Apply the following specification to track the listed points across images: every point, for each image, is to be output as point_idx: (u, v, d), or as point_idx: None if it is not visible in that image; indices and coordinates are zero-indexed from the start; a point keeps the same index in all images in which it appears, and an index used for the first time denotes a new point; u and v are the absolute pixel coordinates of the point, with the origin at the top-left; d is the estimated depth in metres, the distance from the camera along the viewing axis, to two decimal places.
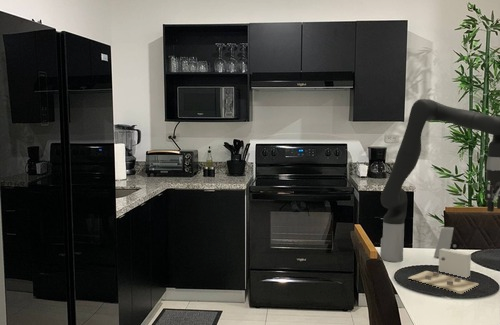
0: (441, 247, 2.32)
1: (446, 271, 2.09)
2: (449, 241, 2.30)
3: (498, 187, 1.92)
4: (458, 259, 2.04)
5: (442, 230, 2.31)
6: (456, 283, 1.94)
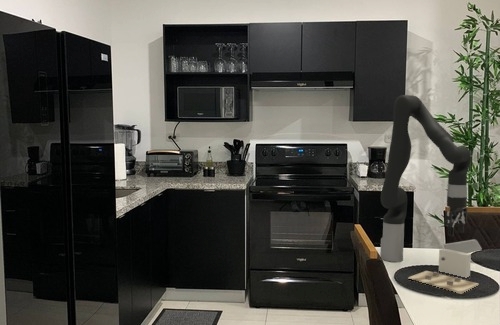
0: (456, 247, 2.29)
1: (446, 271, 2.09)
2: (466, 252, 2.27)
3: (457, 213, 2.03)
4: (458, 259, 2.05)
5: (473, 241, 2.25)
6: (456, 283, 1.94)
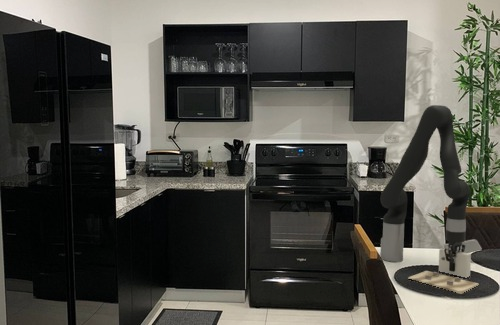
0: None
1: (446, 271, 2.09)
2: (466, 252, 2.27)
3: (456, 248, 2.05)
4: (458, 259, 2.05)
5: (473, 241, 2.25)
6: (456, 283, 1.94)
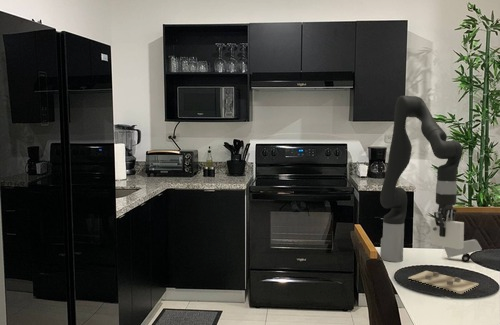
0: None
1: (438, 242, 1.97)
2: (466, 252, 2.27)
3: (446, 211, 1.93)
4: (451, 228, 1.93)
5: (473, 241, 2.25)
6: (456, 283, 1.94)
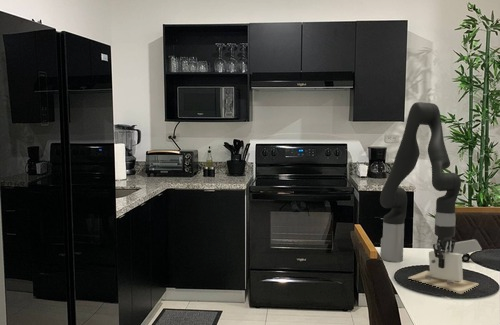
0: (456, 247, 2.29)
1: (438, 274, 1.98)
2: (466, 252, 2.27)
3: (445, 243, 1.94)
4: (449, 260, 1.94)
5: (473, 241, 2.25)
6: (456, 283, 1.94)
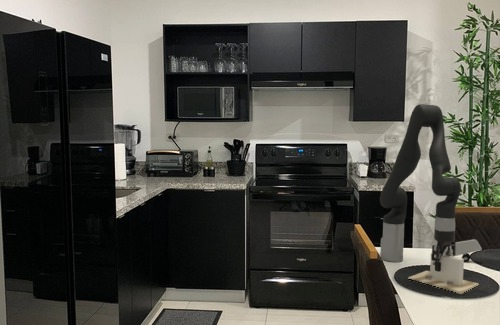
0: (456, 247, 2.29)
1: (438, 277, 1.98)
2: (466, 252, 2.27)
3: (445, 247, 1.94)
4: (450, 264, 1.93)
5: (473, 241, 2.25)
6: None
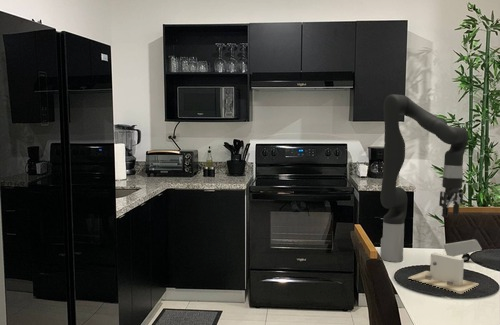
0: (456, 247, 2.29)
1: (438, 277, 1.98)
2: (466, 252, 2.27)
3: (452, 194, 2.03)
4: (450, 264, 1.93)
5: (473, 241, 2.25)
6: None
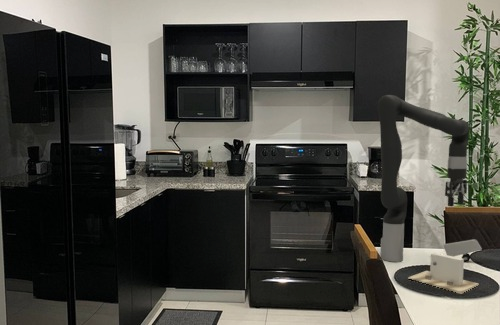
0: (456, 247, 2.29)
1: (438, 277, 1.98)
2: (466, 252, 2.27)
3: (457, 184, 2.10)
4: (450, 264, 1.93)
5: (473, 241, 2.25)
6: None
